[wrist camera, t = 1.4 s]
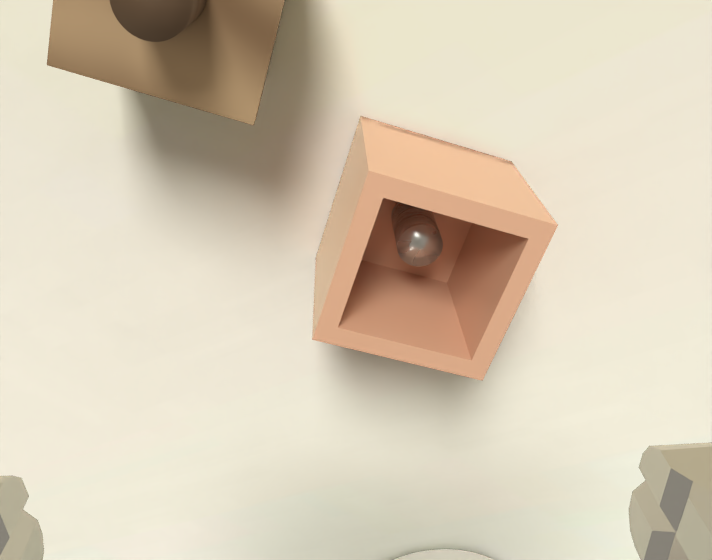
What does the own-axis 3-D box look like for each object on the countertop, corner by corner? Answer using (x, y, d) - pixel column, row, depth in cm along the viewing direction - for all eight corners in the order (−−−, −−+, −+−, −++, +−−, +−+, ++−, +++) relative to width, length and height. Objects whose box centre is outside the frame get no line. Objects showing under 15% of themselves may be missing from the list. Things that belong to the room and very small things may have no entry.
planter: (454, 294, 43) (482, 380, 35) (315, 257, 41) (312, 339, 33) (511, 161, 39) (557, 225, 31) (360, 116, 37) (368, 170, 29)
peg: (424, 239, 40) (433, 271, 37) (385, 229, 40) (390, 259, 36) (438, 203, 39) (449, 232, 36) (399, 192, 39) (406, 220, 35)
